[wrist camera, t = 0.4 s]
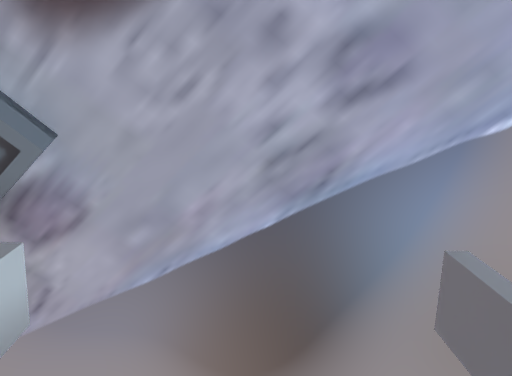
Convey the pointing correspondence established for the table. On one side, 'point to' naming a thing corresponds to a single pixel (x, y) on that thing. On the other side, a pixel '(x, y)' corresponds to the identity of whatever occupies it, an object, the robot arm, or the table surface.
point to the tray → (19, 142)
